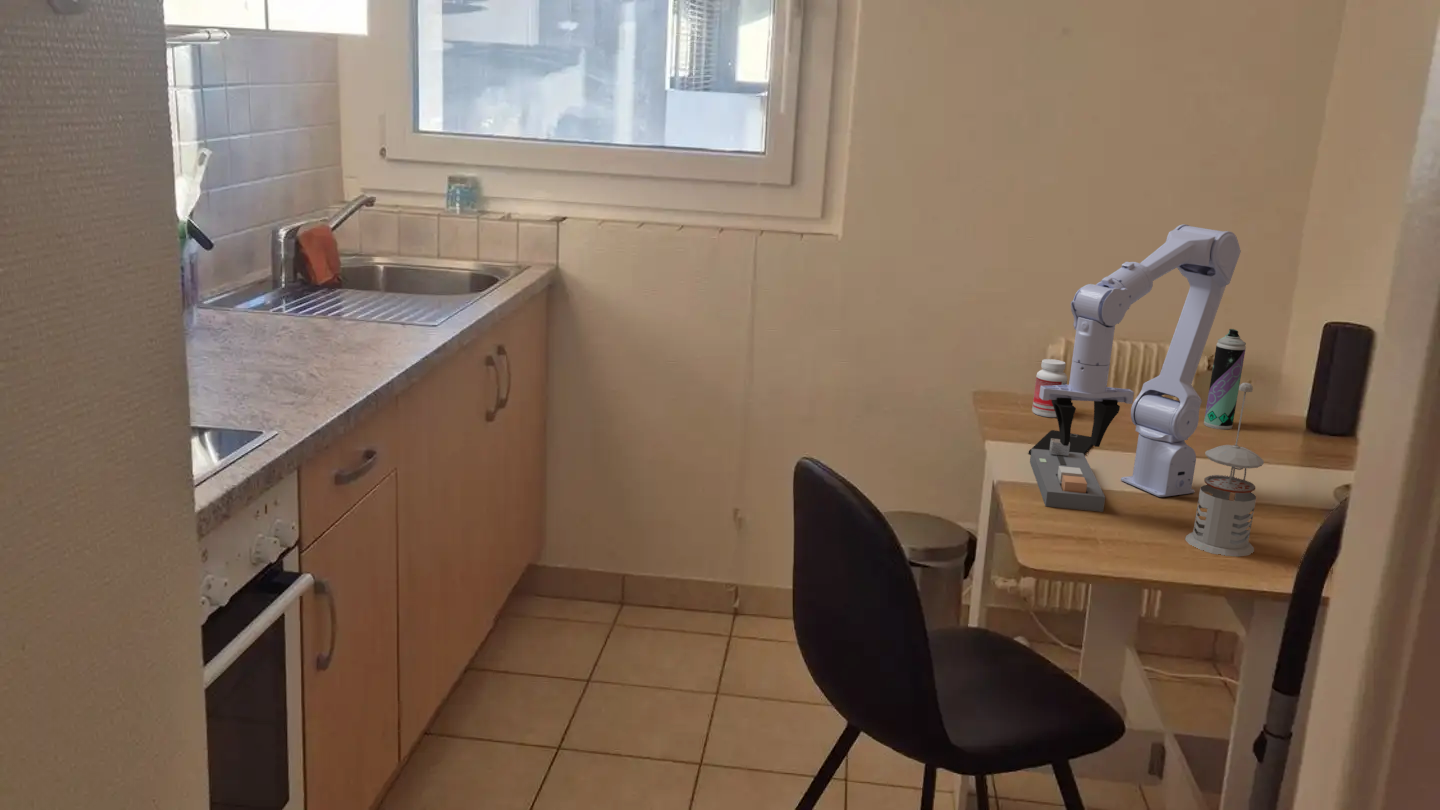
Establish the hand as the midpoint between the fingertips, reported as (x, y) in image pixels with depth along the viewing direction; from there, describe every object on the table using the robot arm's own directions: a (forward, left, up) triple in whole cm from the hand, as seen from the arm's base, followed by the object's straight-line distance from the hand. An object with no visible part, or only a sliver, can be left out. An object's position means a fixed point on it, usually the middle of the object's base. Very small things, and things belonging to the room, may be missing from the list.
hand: (1079, 444), depth 200 cm
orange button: (0, 0, -8) cm, 8 cm away
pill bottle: (+46, -33, -10) cm, 58 cm away
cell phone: (+26, -20, -10) cm, 34 cm away
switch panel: (+8, -5, -10) cm, 13 cm away
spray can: (+29, -63, -10) cm, 70 cm away
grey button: (+4, -3, -8) cm, 10 cm away
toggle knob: (+16, -11, -7) cm, 20 cm away
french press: (-21, -10, -10) cm, 26 cm away
